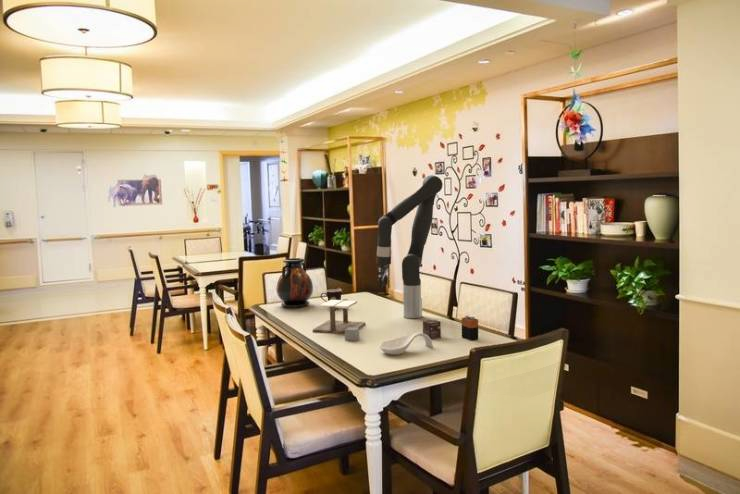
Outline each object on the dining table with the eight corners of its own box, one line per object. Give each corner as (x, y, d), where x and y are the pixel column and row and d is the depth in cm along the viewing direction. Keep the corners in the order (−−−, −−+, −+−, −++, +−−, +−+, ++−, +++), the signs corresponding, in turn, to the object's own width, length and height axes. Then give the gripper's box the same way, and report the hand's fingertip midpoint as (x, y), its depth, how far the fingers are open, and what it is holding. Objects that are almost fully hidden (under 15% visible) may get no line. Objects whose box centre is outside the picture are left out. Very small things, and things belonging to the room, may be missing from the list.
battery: (471, 341, 240) (471, 318, 239) (461, 337, 246) (461, 315, 245) (478, 339, 242) (478, 317, 242) (468, 336, 248) (468, 314, 247)
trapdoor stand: (365, 324, 275) (364, 299, 274) (351, 334, 256) (351, 307, 255) (328, 322, 281) (327, 298, 280) (312, 332, 262) (311, 306, 261)
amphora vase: (294, 301, 340) (293, 256, 338) (321, 304, 328) (319, 258, 325) (269, 307, 323) (267, 260, 320) (296, 311, 310) (294, 262, 308)
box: (429, 339, 244) (429, 323, 244) (422, 336, 250) (422, 320, 249) (441, 337, 247) (441, 321, 247) (433, 334, 253) (433, 319, 252)
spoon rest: (389, 359, 217) (388, 341, 216) (374, 352, 227) (374, 335, 226) (437, 350, 228) (437, 333, 228) (421, 343, 239) (421, 327, 238)
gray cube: (359, 338, 249) (359, 327, 249) (355, 341, 244) (355, 330, 244) (348, 337, 251) (348, 326, 250) (345, 340, 246) (344, 329, 245)
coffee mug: (344, 307, 319) (344, 290, 318) (336, 309, 312) (335, 292, 311) (328, 305, 326) (328, 288, 325) (320, 307, 318) (319, 290, 317)
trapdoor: (357, 302, 272) (357, 300, 272) (347, 308, 259) (347, 306, 259) (331, 301, 276) (330, 299, 276) (320, 307, 263) (320, 305, 263)
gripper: (387, 257, 276) (386, 289, 278) (394, 254, 290) (393, 284, 292) (372, 256, 279) (372, 287, 280) (381, 253, 292) (380, 283, 294)
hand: (383, 286), depth 286 cm, fingers open, 8 cm apart
